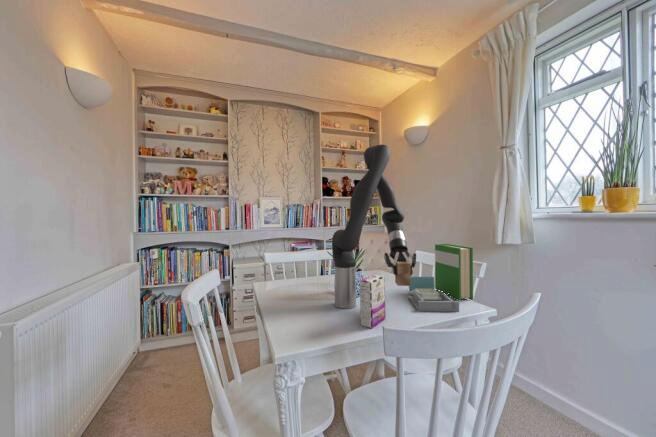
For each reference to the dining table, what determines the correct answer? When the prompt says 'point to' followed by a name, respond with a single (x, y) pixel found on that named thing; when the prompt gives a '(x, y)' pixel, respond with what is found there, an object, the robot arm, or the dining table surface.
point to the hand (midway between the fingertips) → (403, 274)
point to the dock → (434, 303)
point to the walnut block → (403, 274)
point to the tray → (424, 288)
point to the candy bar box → (372, 300)
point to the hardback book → (454, 270)
